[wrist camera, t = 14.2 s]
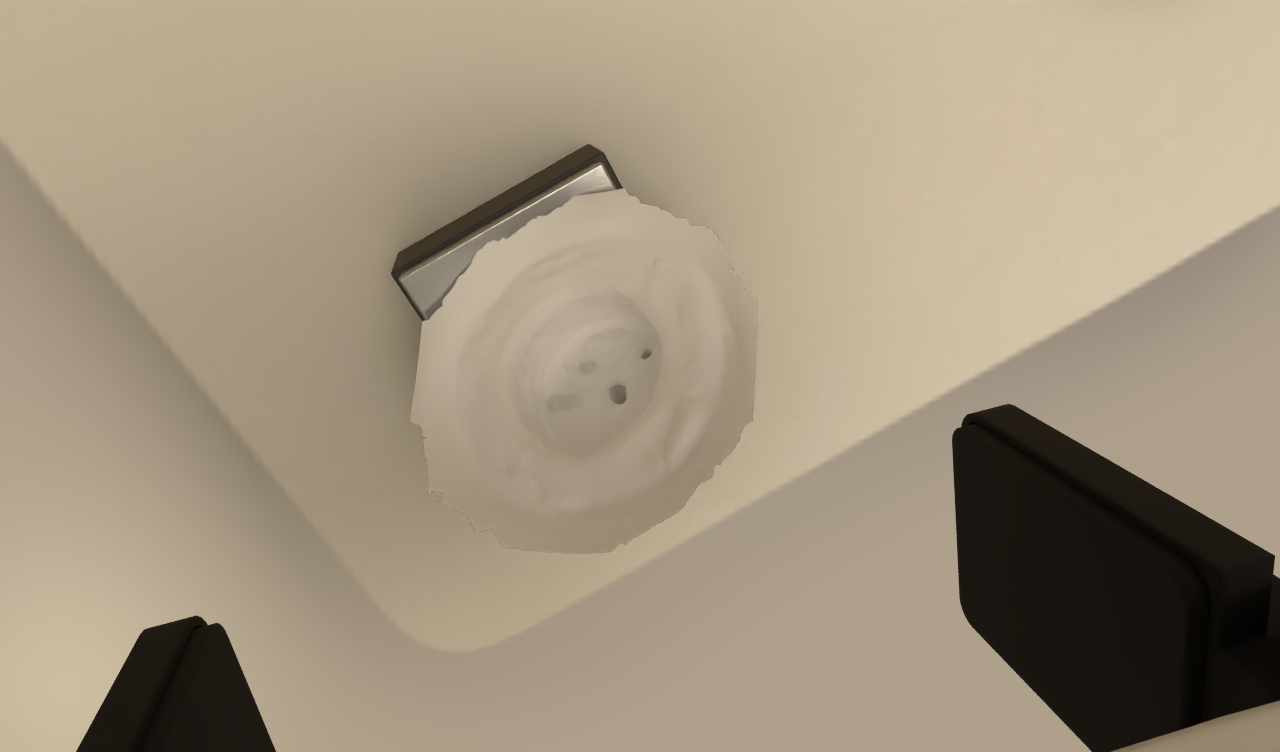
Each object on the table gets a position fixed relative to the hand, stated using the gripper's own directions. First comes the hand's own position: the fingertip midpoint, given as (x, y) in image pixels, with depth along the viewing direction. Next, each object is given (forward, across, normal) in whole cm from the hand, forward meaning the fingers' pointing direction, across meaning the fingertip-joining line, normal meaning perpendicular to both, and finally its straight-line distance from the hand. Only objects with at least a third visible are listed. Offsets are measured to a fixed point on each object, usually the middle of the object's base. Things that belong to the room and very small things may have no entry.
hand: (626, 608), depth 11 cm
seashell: (+12, -1, 0) cm, 12 cm away
